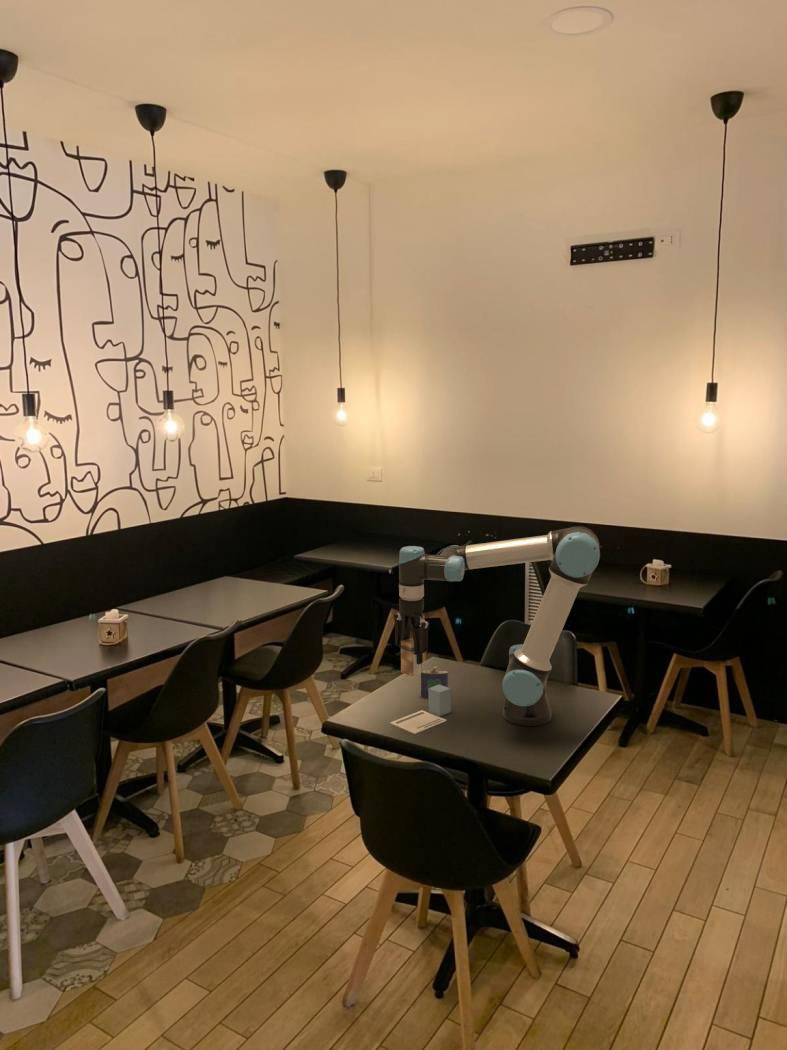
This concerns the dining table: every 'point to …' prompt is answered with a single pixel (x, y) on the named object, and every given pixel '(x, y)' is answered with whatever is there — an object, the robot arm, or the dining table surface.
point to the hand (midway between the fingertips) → (411, 671)
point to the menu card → (418, 722)
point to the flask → (432, 680)
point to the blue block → (439, 700)
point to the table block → (407, 656)
